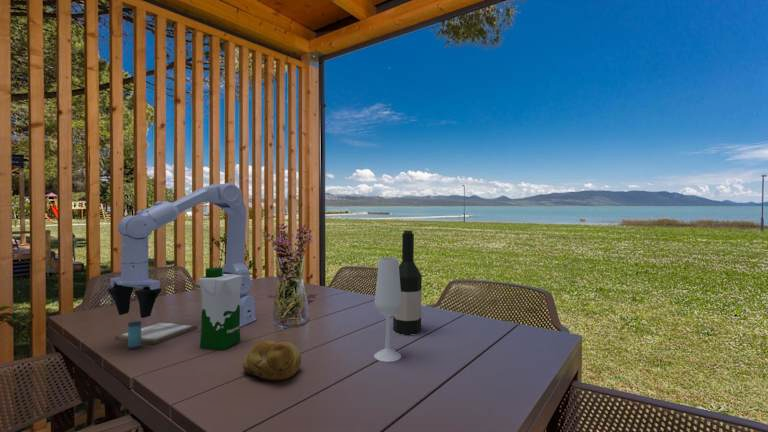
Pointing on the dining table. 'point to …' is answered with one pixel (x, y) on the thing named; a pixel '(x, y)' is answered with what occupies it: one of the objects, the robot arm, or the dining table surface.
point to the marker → (134, 334)
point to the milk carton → (220, 309)
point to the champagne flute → (388, 301)
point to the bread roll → (272, 360)
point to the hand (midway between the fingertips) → (134, 315)
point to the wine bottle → (408, 290)
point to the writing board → (160, 332)
